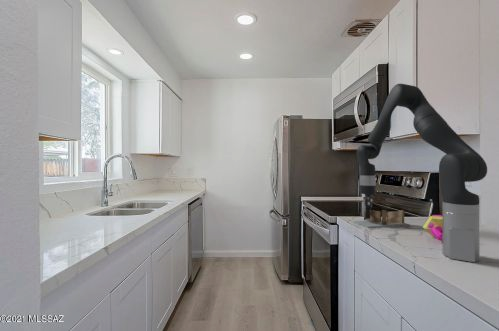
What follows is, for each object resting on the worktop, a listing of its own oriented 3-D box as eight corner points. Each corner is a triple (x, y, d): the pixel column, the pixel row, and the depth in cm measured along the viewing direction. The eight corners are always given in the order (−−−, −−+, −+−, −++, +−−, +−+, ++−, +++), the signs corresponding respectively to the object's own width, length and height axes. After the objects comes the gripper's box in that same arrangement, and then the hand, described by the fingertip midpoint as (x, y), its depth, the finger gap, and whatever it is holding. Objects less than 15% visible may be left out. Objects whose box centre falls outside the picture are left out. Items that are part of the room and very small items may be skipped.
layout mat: (368, 227, 123) (368, 226, 123) (353, 222, 135) (353, 221, 135) (410, 225, 127) (409, 224, 127) (392, 220, 139) (392, 219, 139)
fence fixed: (383, 225, 127) (383, 210, 127) (380, 225, 129) (380, 209, 129) (405, 224, 129) (405, 209, 129) (402, 224, 131) (402, 209, 131)
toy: (423, 243, 100) (438, 223, 96) (417, 221, 116) (430, 202, 112) (452, 256, 97) (468, 235, 93) (442, 232, 113) (456, 213, 108)
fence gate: (381, 222, 130) (381, 209, 130) (379, 222, 129) (379, 209, 129) (365, 219, 138) (365, 207, 138) (363, 219, 137) (363, 207, 137)
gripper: (377, 185, 125) (377, 221, 125) (374, 183, 137) (374, 216, 137) (360, 185, 127) (360, 220, 127) (358, 183, 140) (358, 215, 140)
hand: (367, 218), depth 132 cm, fingers closed
